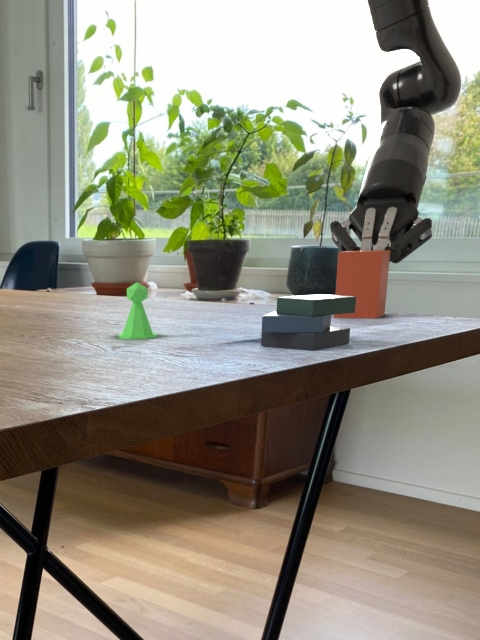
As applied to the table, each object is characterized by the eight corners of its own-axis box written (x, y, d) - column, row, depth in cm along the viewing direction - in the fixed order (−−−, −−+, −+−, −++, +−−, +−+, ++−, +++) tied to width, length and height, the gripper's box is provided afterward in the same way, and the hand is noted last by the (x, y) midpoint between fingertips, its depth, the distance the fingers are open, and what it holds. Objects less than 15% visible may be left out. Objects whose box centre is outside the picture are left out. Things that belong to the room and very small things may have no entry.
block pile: (291, 338, 86) (293, 293, 84) (360, 343, 80) (364, 295, 79) (241, 346, 81) (243, 298, 79) (311, 353, 75) (314, 301, 74)
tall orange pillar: (343, 317, 104) (348, 250, 102) (384, 318, 102) (390, 249, 99) (333, 321, 100) (338, 252, 97) (376, 322, 98) (382, 251, 95)
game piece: (165, 342, 86) (165, 281, 84) (126, 345, 85) (126, 283, 82) (148, 338, 90) (148, 280, 88) (111, 341, 88) (110, 282, 86)
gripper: (339, 160, 108) (307, 263, 102) (448, 153, 102) (421, 262, 96) (344, 204, 114) (315, 304, 108) (448, 200, 108) (423, 305, 102)
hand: (365, 284), depth 102 cm, fingers closed
